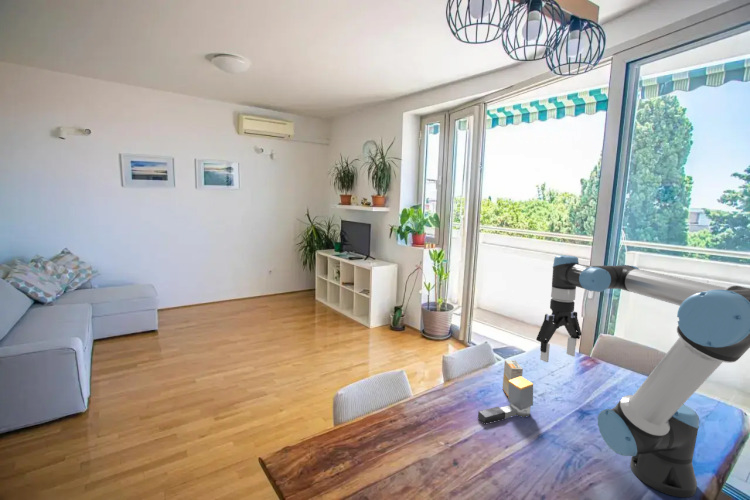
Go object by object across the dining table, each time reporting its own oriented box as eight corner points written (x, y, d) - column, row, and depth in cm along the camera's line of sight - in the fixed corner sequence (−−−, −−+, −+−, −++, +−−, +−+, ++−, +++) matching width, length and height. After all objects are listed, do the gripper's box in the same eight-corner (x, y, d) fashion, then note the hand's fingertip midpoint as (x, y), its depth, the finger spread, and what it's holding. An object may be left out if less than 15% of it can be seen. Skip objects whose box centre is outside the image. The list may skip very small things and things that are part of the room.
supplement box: (520, 399, 145) (523, 369, 143) (508, 399, 145) (511, 368, 143) (513, 389, 153) (516, 359, 151) (501, 388, 153) (504, 359, 151)
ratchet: (520, 404, 141) (521, 386, 140) (534, 414, 135) (536, 396, 134) (475, 415, 133) (476, 396, 132) (487, 427, 127) (489, 407, 126)
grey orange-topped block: (532, 405, 135) (533, 383, 133) (520, 410, 132) (520, 388, 131) (520, 396, 140) (520, 376, 138) (508, 401, 138) (508, 380, 136)
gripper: (576, 294, 136) (571, 349, 138) (528, 299, 125) (523, 359, 127) (595, 299, 129) (590, 356, 131) (546, 305, 118) (541, 367, 120)
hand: (557, 357), depth 129 cm, fingers open, 13 cm apart
